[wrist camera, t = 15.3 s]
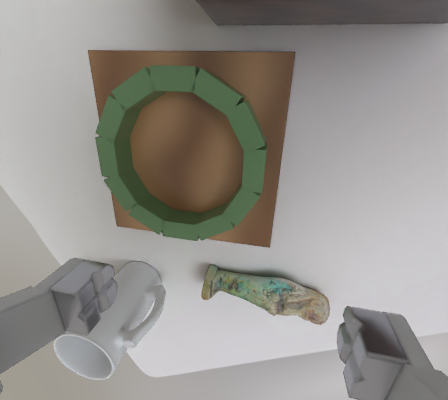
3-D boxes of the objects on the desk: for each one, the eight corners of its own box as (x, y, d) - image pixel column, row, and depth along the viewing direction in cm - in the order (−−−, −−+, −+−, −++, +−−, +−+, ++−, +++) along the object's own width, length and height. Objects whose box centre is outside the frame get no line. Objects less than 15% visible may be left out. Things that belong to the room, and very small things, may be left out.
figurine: (215, 247, 31) (207, 266, 27) (333, 286, 30) (340, 311, 26) (205, 278, 33) (197, 299, 30) (315, 316, 32) (319, 343, 29)
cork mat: (295, 52, 21) (295, 51, 21) (269, 245, 29) (269, 247, 29) (90, 50, 24) (87, 50, 24) (118, 224, 32) (116, 226, 32)
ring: (275, 70, 22) (275, 67, 19) (257, 234, 28) (255, 249, 26) (103, 67, 24) (82, 63, 22) (125, 217, 31) (111, 228, 29)
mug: (133, 298, 38) (75, 380, 27) (112, 263, 35) (41, 336, 25) (190, 290, 35) (151, 379, 24) (172, 251, 32) (120, 330, 22)
